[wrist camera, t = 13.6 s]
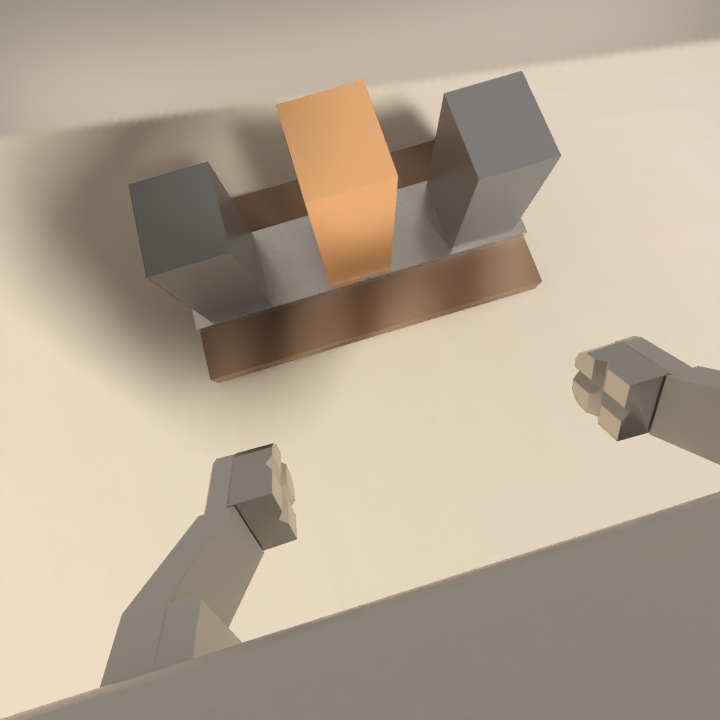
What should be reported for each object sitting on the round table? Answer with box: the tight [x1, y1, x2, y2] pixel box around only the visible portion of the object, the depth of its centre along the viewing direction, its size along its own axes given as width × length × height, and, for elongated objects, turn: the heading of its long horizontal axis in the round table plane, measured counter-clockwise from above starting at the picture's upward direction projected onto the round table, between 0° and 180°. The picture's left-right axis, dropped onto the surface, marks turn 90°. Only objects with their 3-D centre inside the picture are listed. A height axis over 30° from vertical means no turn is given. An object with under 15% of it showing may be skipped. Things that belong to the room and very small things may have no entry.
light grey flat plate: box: [192, 181, 527, 332], centre depth 26 cm, size 22×6×1 cm, turn 106°
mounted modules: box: [129, 71, 561, 322], centre depth 22 cm, size 20×5×7 cm, turn 106°
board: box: [201, 140, 542, 382], centre depth 26 cm, size 22×12×1 cm, turn 106°
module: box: [276, 80, 398, 286], centre depth 21 cm, size 4×5×9 cm
